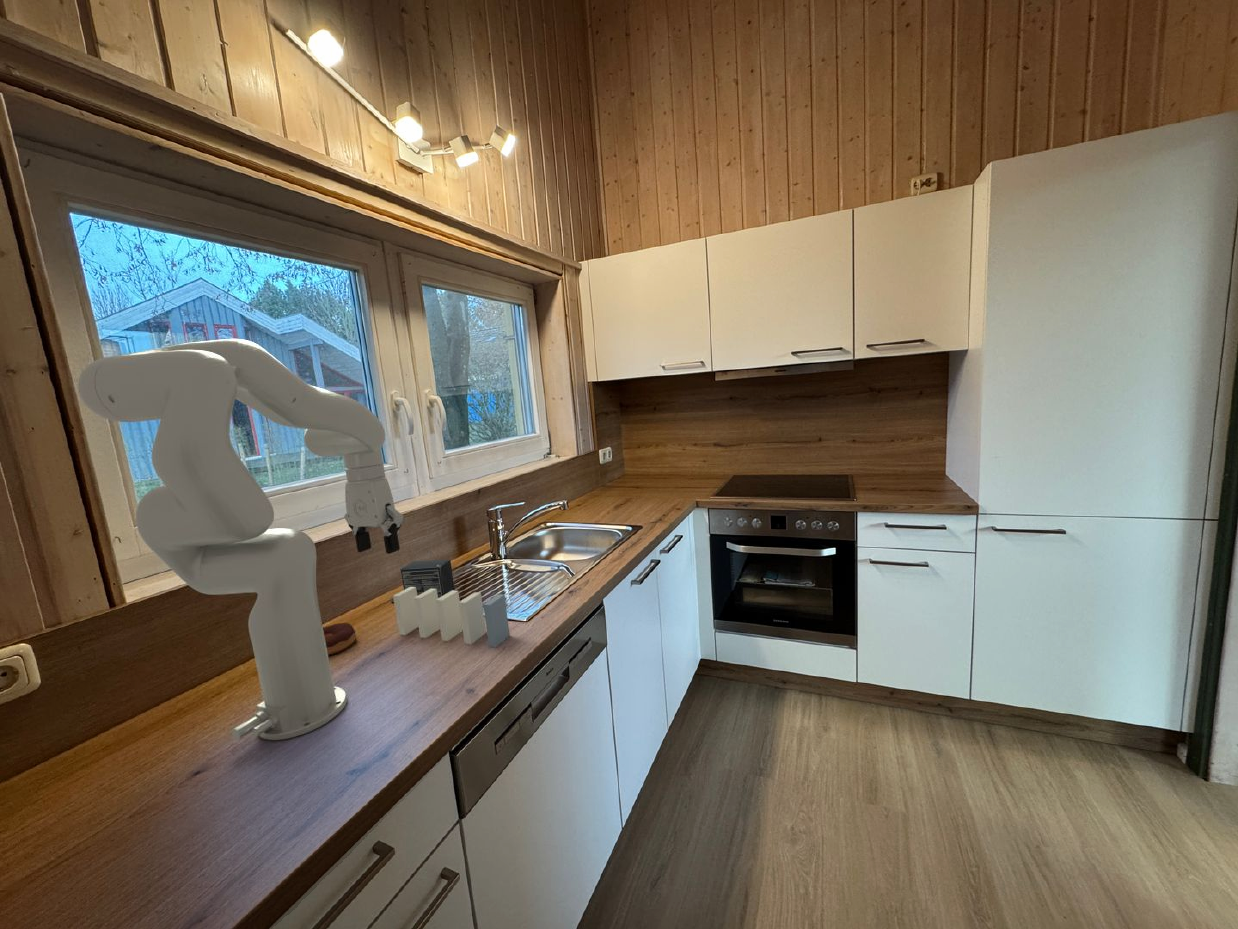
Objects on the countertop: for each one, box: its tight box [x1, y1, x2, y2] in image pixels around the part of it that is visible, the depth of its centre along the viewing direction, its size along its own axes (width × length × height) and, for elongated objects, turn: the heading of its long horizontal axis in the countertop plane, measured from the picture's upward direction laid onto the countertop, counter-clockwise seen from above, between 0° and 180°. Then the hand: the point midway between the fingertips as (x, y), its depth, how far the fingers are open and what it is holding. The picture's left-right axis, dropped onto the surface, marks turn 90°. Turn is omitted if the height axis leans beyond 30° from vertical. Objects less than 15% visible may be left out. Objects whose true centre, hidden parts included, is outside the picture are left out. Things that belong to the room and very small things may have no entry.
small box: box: [400, 558, 456, 598], centre depth 124 cm, size 11×6×10 cm, turn 84°
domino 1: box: [392, 587, 419, 636], centre depth 110 cm, size 2×5×9 cm, turn 158°
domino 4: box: [459, 591, 487, 645], centre depth 103 cm, size 2×5×9 cm, turn 158°
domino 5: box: [482, 593, 511, 649], centre depth 101 cm, size 2×5×9 cm, turn 159°
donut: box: [323, 622, 357, 656], centre depth 105 cm, size 10×10×4 cm
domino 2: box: [414, 588, 440, 639], centre depth 108 cm, size 2×5×9 cm, turn 158°
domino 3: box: [436, 590, 463, 642], centre depth 105 cm, size 2×5×9 cm, turn 158°
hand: (378, 550), depth 110 cm, fingers open, 8 cm apart
